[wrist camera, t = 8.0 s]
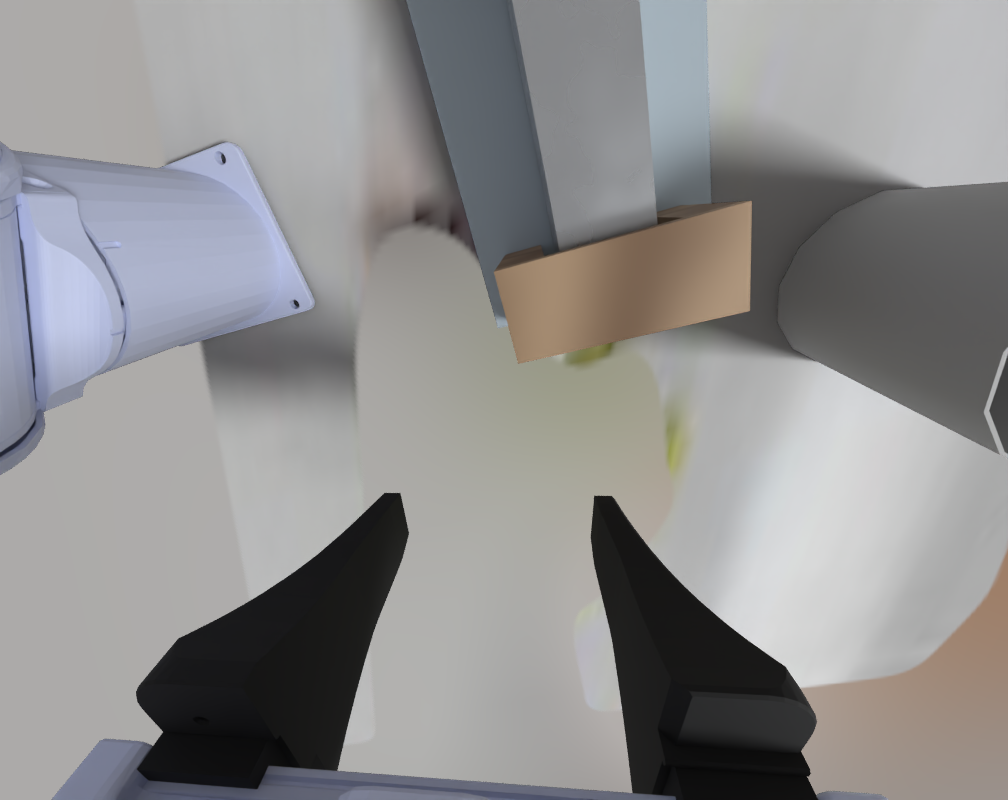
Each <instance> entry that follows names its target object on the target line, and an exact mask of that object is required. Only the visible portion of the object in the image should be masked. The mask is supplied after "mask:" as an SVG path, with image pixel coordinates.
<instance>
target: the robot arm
mask: <svg viewBox="0 0 1008 800" xmlns="http://www.w3.org/2000/svg"><path fill="white" fill-rule="evenodd" d="M222 154H224V155H225V158H226V163H225V164H224V163H223V162H222V159H221V155H222ZM294 299H295V300H296V301H298V303H299V307H297V306H296V305H295V304H294ZM314 305H315V301H314V298H313V296H312V294H311V292H310V290H309V287H308V285H307V283H306V281H305V279H304V277H303V275H302V273H301V271H300V269H299V267H298V265H297V263H296V260H295V258H294V256H293V254H292V252H291V250H290V248H289V246H288V244H287V242H286V240H285V238H284V236H283V233H282V231H281V229H280V227H279V225H278V223H277V221H276V219H275V217H274V215H273V213H272V211H271V209H270V206H269V204H268V202H267V200H266V198H265V196H264V194H263V192H262V190H261V188H260V186H259V184H258V182H257V179H256V177H255V175H254V173H253V171H252V169H251V167H250V165H249V163H248V161H247V159H246V157H245V155H244V152H243V151H242V149H241V148H240V147H239V146H238V145H236V144H233V143H230V142H224V143H221V144H219V145H216V146H213V147H211V148H208V149H206V150H203V151H201V152H198V153H196V154H193V155H191V156H188V157H185V158H183V159H180V160H178V161H175V162H173V163H170V164H168V165H165V166H162V167H160V168H149V167H141V166H133V165H125V164H117V163H109V162H101V161H93V160H85V159H77V158H68V157H61V156H53V155H45V154H37V153H29V152H21V151H13V150H10V149H9V148H8V147H7V146H6V145H4V144H3V143H1V142H0V475H1V474H3V473H5V472H6V471H8V470H10V469H12V468H13V467H14V466H15V465H17V464H18V463H20V462H21V461H22V460H24V459H25V458H26V457H27V456H28V455H29V454H30V453H31V452H32V451H33V450H34V449H35V448H36V446H37V445H38V443H39V441H40V440H41V438H42V436H43V434H44V429H45V419H44V412H45V411H47V410H50V409H52V408H55V407H57V406H59V405H62V404H64V403H67V402H70V401H72V400H74V399H77V398H80V397H82V396H83V388H84V386H85V384H86V382H87V381H88V380H89V379H91V378H93V377H95V376H97V375H100V374H103V373H105V372H108V371H111V370H113V369H116V368H119V367H122V366H124V365H127V364H130V363H132V362H135V361H138V360H141V359H143V358H146V357H148V356H151V355H154V354H157V353H160V352H162V351H165V350H168V349H170V348H173V347H176V346H184V345H188V344H191V343H194V342H198V341H202V340H205V339H209V338H213V337H216V336H220V335H223V334H227V333H230V332H234V331H237V330H241V329H244V328H248V327H251V326H255V325H259V324H262V323H266V322H269V321H273V320H276V319H280V318H283V317H287V316H290V315H294V314H297V313H301V312H304V311H308V310H310V309H312V308H313V307H314ZM591 530H592V531H591V543H592V551H593V558H594V565H595V570H596V574H597V578H598V582H599V586H600V590H601V595H602V599H603V603H604V607H605V611H606V615H607V619H608V624H609V628H610V633H611V637H612V643H613V649H614V656H615V662H616V669H617V676H618V683H619V690H620V697H621V704H622V711H623V718H624V726H625V734H626V742H627V749H628V758H629V766H630V775H631V783H632V791H633V793H624V792H610V791H597V790H583V789H570V788H557V787H542V786H530V785H516V784H504V783H491V782H477V781H462V780H451V779H437V778H424V777H411V776H398V775H384V774H371V773H357V772H345V771H337V769H338V765H339V760H340V756H341V752H342V748H343V743H344V739H345V735H346V730H347V726H348V722H349V718H350V714H351V711H352V707H353V703H354V699H355V695H356V691H357V687H358V684H359V680H360V677H361V673H362V669H363V666H364V662H365V659H366V655H367V652H368V649H369V645H370V642H371V639H372V635H373V632H374V629H375V626H376V624H377V621H378V618H379V616H380V613H381V611H382V608H383V606H384V603H385V601H386V598H387V596H388V593H389V591H390V588H391V586H392V583H393V581H394V579H395V576H396V574H397V571H398V568H399V566H400V563H401V561H402V558H403V554H404V550H405V546H406V543H407V539H408V535H409V532H408V528H407V522H406V517H405V513H404V508H403V503H402V499H401V495H400V493H384V494H383V495H382V496H381V497H380V498H379V499H378V500H377V501H376V502H375V503H374V504H373V505H372V506H371V507H370V508H369V509H368V510H366V512H364V513H363V514H362V515H361V516H360V517H359V518H358V519H357V520H356V521H355V522H354V523H353V524H352V525H351V526H350V527H349V528H347V529H346V530H345V531H344V532H343V533H342V534H341V535H340V536H339V537H337V538H336V539H335V540H334V541H333V542H332V543H331V544H329V545H328V546H327V547H326V548H325V549H324V550H322V551H321V552H320V553H319V554H318V555H316V556H315V557H314V558H312V559H311V560H310V561H309V562H307V563H306V564H305V565H303V566H302V567H301V568H299V569H298V570H297V571H295V572H294V573H292V574H291V575H290V576H288V577H287V578H285V579H284V580H282V581H281V582H279V583H277V584H276V585H274V586H273V587H271V588H270V589H268V590H267V591H265V592H264V593H262V594H261V595H259V596H257V597H256V598H254V599H252V600H251V601H249V602H247V603H246V604H244V605H242V606H240V607H239V608H237V609H235V610H233V611H232V612H230V613H228V614H226V615H224V616H222V617H221V618H219V619H217V620H215V621H213V622H211V623H209V624H207V625H205V626H203V627H201V628H199V629H197V630H195V631H193V632H191V633H189V634H187V635H185V636H183V637H181V638H179V639H178V640H177V641H176V642H175V643H174V645H173V646H172V647H171V648H170V649H169V650H168V652H167V653H166V654H165V655H164V656H163V658H162V659H161V660H160V661H159V663H158V664H157V665H156V666H155V667H154V668H153V670H152V671H151V672H150V673H149V674H148V676H147V677H146V678H145V679H144V681H143V682H142V683H141V684H140V685H139V687H138V689H137V691H136V696H137V701H138V703H139V705H140V706H141V707H142V709H143V710H144V711H145V712H146V713H147V714H148V716H149V717H150V718H151V719H152V720H153V721H154V722H155V723H156V724H157V725H158V726H159V727H160V729H161V730H162V731H163V733H162V735H161V736H160V737H159V739H158V740H157V742H156V743H155V745H154V746H152V745H150V744H147V743H145V742H140V741H130V740H116V739H103V740H101V741H99V743H98V744H97V745H96V746H95V748H93V750H92V751H91V753H89V755H88V756H87V757H86V758H85V759H84V761H83V762H82V763H81V764H80V766H79V767H78V768H77V769H76V770H75V772H74V773H73V774H72V775H71V777H70V778H69V779H68V780H67V782H66V783H65V784H64V785H63V786H62V787H61V789H60V790H59V791H58V792H57V794H56V795H55V796H54V797H53V798H52V800H888V799H887V798H886V797H884V796H882V795H880V794H867V793H854V792H840V791H827V792H822V793H819V794H817V795H816V794H815V792H814V790H813V788H812V786H811V784H810V782H809V780H808V778H807V776H809V775H810V774H811V773H810V768H809V766H808V764H807V763H806V761H805V758H804V756H803V755H802V753H801V750H802V748H803V747H804V746H805V744H806V743H807V741H808V740H809V738H810V737H811V735H812V734H813V732H814V729H815V726H816V723H817V721H816V716H815V713H814V711H813V710H812V708H811V706H810V704H809V703H808V701H807V699H806V697H805V696H804V694H803V692H802V691H801V689H800V688H799V686H798V684H797V683H796V682H795V680H794V679H793V677H792V676H791V674H790V673H789V672H788V670H787V668H786V667H785V666H783V665H782V664H781V663H779V662H778V661H776V660H775V659H773V658H772V657H771V656H769V655H768V654H766V653H765V652H763V651H762V650H761V649H759V648H758V647H756V646H755V645H753V644H752V643H751V642H749V641H748V640H747V639H745V638H744V637H743V636H741V635H740V634H739V633H737V632H736V631H735V630H734V629H732V628H731V627H730V626H728V625H727V624H726V623H725V622H723V621H722V620H721V619H720V618H719V617H718V616H716V615H715V614H714V613H713V612H712V611H711V610H710V609H708V608H707V607H706V606H705V605H704V604H703V603H701V602H700V601H699V600H698V599H697V598H696V597H695V596H694V595H693V594H692V593H691V592H690V591H689V590H688V589H686V588H685V587H684V586H683V585H682V584H681V583H680V582H679V580H678V579H677V578H676V577H675V576H674V575H673V574H672V573H671V572H670V571H669V570H668V569H667V568H666V567H665V566H664V565H663V563H662V562H661V561H660V560H659V559H658V558H657V556H656V555H655V554H654V553H653V552H652V550H651V549H650V548H649V547H648V546H647V544H646V543H645V542H644V540H643V539H642V538H641V537H640V535H639V534H638V533H637V531H636V530H635V529H634V527H633V526H632V525H631V523H630V522H629V520H628V519H627V517H626V516H625V515H624V513H623V512H622V510H621V509H620V507H619V505H618V504H617V502H616V501H615V499H614V498H613V497H612V496H594V506H593V517H592V529H591Z"/></svg>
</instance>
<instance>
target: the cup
mask: <svg viewBox="0 0 1008 800" xmlns="http://www.w3.org/2000/svg"><path fill="white" fill-rule="evenodd" d="M777 323H778V325H779V326H780V328H781V330H782V332H783V333H784V335H785V337H786V339H787V340H788V342H789V344H790V346H791V348H792V349H794V350H796V351H798V352H800V353H802V354H804V355H806V356H808V357H810V358H812V359H814V360H816V361H817V362H819V363H821V364H823V365H825V366H827V367H829V368H831V369H833V370H835V371H837V372H839V373H841V374H843V375H845V376H847V377H849V378H851V379H853V380H855V381H857V382H859V383H861V384H862V385H864V386H866V387H868V388H870V389H872V390H874V391H876V392H878V393H880V394H882V395H884V396H886V397H888V398H890V399H892V400H894V401H896V402H898V403H900V404H902V405H904V406H905V407H907V408H909V409H911V410H913V411H915V412H917V413H919V414H921V415H923V416H925V417H927V418H929V419H931V420H933V421H935V422H937V423H939V424H941V425H943V426H945V427H947V428H948V429H950V430H952V431H954V432H956V433H958V434H960V435H962V436H964V437H966V438H968V439H970V440H972V441H974V442H976V443H978V444H980V445H982V446H984V447H986V448H988V449H990V450H991V451H993V452H995V453H997V454H999V455H1001V456H1003V457H1005V458H1008V182H1001V183H986V184H972V185H957V186H943V187H929V188H914V189H900V190H886V191H880V192H878V193H876V194H874V195H872V196H870V197H868V198H866V199H864V200H861V201H859V202H857V203H855V204H853V205H851V206H849V207H847V208H845V209H842V210H840V211H838V212H836V213H835V214H834V215H833V216H832V217H831V218H830V219H829V220H827V221H826V222H825V223H824V224H823V225H822V226H821V227H820V228H819V229H818V230H817V231H816V232H815V233H814V234H813V235H812V236H811V237H810V238H809V239H808V240H807V241H806V242H804V243H803V244H802V245H801V246H800V247H799V249H798V251H797V253H796V255H795V256H794V258H793V260H792V262H791V264H790V266H789V268H788V270H787V272H786V274H785V276H784V278H783V280H782V282H781V284H780V286H779V295H778V316H777Z"/></svg>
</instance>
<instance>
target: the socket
mask: <svg viewBox="0 0 1008 800" xmlns="http://www.w3.org/2000/svg"><path fill="white" fill-rule="evenodd" d="M657 223H658V225H655V226H651V227H648V228H644V229H640V230H637V231H633V232H629V233H626V234H622V235H619V236H615V237H611V238H608V239H604V240H601V241H597V242H593V243H590V244H586V245H582V246H579V247H575V248H572V249H568V250H564V251H561V252H557V253H554V254H550V255H546V256H544V254H543V251H542V247H541V245H538V246H535V247H531V248H528V249H524V250H520V251H517V252H513V253H510V254H506V255H505V256H504V257H503V259H502V260H501V262H500V263H499V265H498V266H497V268H496V269H495V271H494V275H495V278H496V282H497V286H498V290H499V293H500V297H501V301H502V305H503V308H504V312H505V316H506V320H507V323H508V327H509V331H510V335H511V338H512V342H513V345H514V349H515V353H516V357H517V360H518V363H524V362H528V361H533V360H537V359H541V358H546V357H550V356H555V355H559V354H563V353H568V352H572V351H577V350H581V349H585V348H590V347H594V346H599V345H603V344H607V343H612V342H616V341H620V340H625V339H629V338H634V337H638V336H642V335H647V334H651V333H656V332H660V331H664V330H669V329H673V328H678V327H682V326H686V325H691V324H695V323H700V322H704V321H708V320H713V319H717V318H722V317H726V316H730V315H735V314H739V313H743V312H748V311H750V278H751V224H752V201H740V202H724V203H709V204H694V205H680V206H676V207H673V208H669V209H666V210H662V211H658V212H657Z"/></svg>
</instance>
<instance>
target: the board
mask: <svg viewBox="0 0 1008 800" xmlns="http://www.w3.org/2000/svg"><path fill="white" fill-rule="evenodd" d="M406 2H407V5H408V9H409V12H410V16H411V20H412V23H413V27H414V30H415V34H416V37H417V41H418V45H419V48H420V52H421V55H422V59H423V62H424V66H425V70H426V73H427V77H428V80H429V84H430V87H431V91H432V95H433V98H434V102H435V105H436V109H437V112H438V116H439V119H440V123H441V127H442V130H443V134H444V137H445V141H446V144H447V148H448V152H449V155H450V159H451V162H452V166H453V169H454V173H455V177H456V180H457V184H458V187H459V191H460V194H461V198H462V202H463V205H464V209H465V212H466V216H467V219H468V223H469V227H470V230H471V234H472V237H473V241H474V244H475V248H476V252H477V255H478V259H479V262H480V266H481V269H482V273H483V277H484V280H485V284H486V287H487V291H488V294H489V298H490V302H491V305H492V309H493V312H494V316H495V319H496V323H497V327H498V328H501V327H505V326H508V323H507V320H506V316H505V312H504V308H503V305H502V301H501V297H500V293H499V290H498V286H497V282H496V278H495V275H494V271H495V269H496V268H497V266H498V265H499V263H500V262H501V260H502V259H503V257H504V256H505V255H506V254H510V253H513V252H517V251H520V250H524V249H528V248H531V247H535V246H538V245H541V247H542V251H543V254H544V256H546V255H550V254H554V253H555V249H554V244H553V239H552V234H551V228H550V223H549V218H548V213H547V208H546V203H545V198H544V192H543V187H542V182H541V177H540V172H539V167H538V162H537V156H536V151H535V146H534V141H533V136H532V131H531V126H530V121H529V115H528V110H527V105H526V100H525V95H524V90H523V85H522V79H521V74H520V69H519V64H518V59H517V54H516V49H515V43H514V38H513V33H512V28H511V23H510V18H509V13H508V8H507V2H506V0H406ZM640 12H641V25H642V37H643V50H644V62H645V74H646V87H647V99H648V111H649V124H650V136H651V149H652V161H653V173H654V186H655V198H656V211H657V212H658V211H662V210H666V209H669V208H673V207H676V206H680V205H694V204H709V203H711V166H710V124H709V81H708V38H707V0H640Z"/></svg>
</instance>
